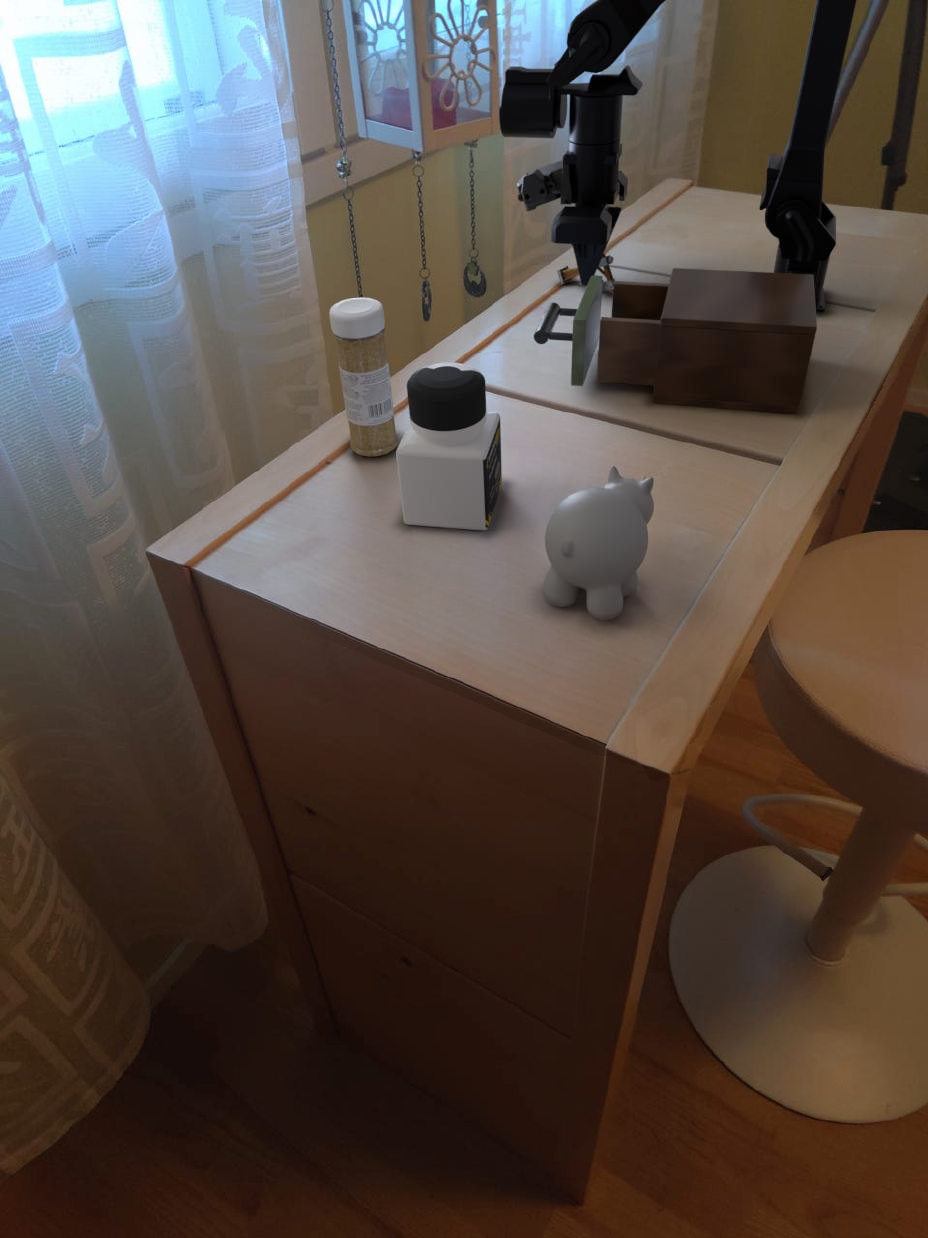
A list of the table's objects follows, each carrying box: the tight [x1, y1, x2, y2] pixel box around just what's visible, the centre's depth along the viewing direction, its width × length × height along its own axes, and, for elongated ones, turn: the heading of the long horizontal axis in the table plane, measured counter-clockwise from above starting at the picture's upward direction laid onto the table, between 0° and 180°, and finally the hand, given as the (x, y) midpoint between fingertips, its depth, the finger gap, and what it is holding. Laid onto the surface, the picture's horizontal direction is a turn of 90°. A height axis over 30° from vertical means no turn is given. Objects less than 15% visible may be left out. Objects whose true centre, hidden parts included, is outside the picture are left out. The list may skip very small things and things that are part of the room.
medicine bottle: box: [395, 361, 503, 532], centre depth 71 cm, size 7×7×12 cm
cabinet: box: [652, 267, 818, 415], centre depth 87 cm, size 14×13×9 cm
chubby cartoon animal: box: [541, 465, 655, 621], centre depth 64 cm, size 7×12×8 cm, turn 146°
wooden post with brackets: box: [556, 253, 616, 294], centre depth 108 cm, size 2×8×4 cm, turn 48°
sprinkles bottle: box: [329, 297, 399, 458], centre depth 79 cm, size 5×5×14 cm
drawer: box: [533, 274, 669, 387], centre depth 90 cm, size 17×11×7 cm
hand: (588, 279), depth 109 cm, fingers open, 3 cm apart
